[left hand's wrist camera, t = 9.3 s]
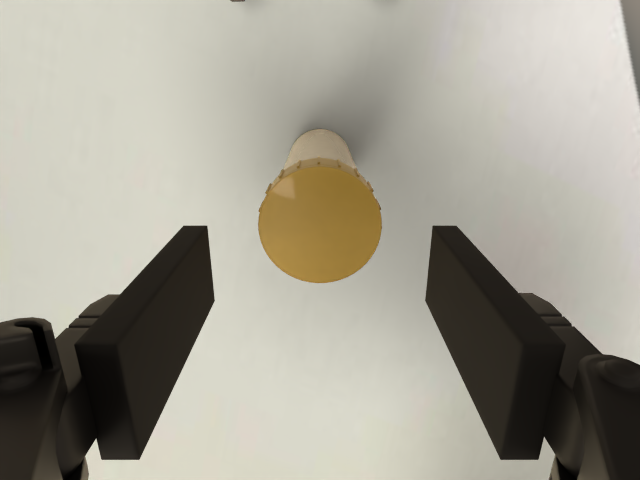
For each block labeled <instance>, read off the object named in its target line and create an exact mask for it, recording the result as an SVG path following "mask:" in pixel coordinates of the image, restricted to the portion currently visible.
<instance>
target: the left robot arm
mask: <svg viewBox="0 0 640 480" xmlns="http://www.w3.org/2000/svg"><path fill="white" fill-rule="evenodd" d="M214 301H215V300H214V290H213V279H212V269H211V259H210V249H209V239H208V229H207V226H183V227H182V228H181V229H180V230H179V231H178V232H177V234H176V235H175V236H174V237H173V238H172V239H171V240H170V241H169V242H168V243H167V244H166V245H165V247H164V248H163V249H162V250H161V251H160V252H159V253H158V254H157V255H156V256H155V257H154V258H153V260H152V261H151V262H150V263H149V264H148V265H147V266H146V267H145V268H144V269H143V270H142V271H141V273H140V274H139V275H138V276H137V277H136V278H135V279H134V280H133V281H132V282H131V283H130V284H129V286H128V287H127V288H126V289H125V290H124V291H123V292H122V293H121V294H120V295H107V296H105V297H103V298H101V299H99V300H98V301H96V302H94V303H92V304H90V305H89V306H88V307H87V308H86V309H85V310H84V311H83V312H82V313H81V314H80V315H79V318H76V319H75V320H74V321H73V322H72V323H71V324H70V325H69V328H66V329H65V330H64V331H63V332H62V333H61V334H60V335H59V336H58V337H57V338H56V339H55V337H54V333H53V329H52V326H51V323H50V322H48V321H47V320H45V319H41V318H34V317H31V318H19V319H14V320H9V321H5V322H1V323H0V480H88V476H89V473H88V466H87V462H86V458H85V455H86V454H87V452H88V450H89V449H90V447H91V446H92V444H93V442H94V441H95V439H96V438H97V442H98V447H99V451H100V455H101V459H102V460H139V459H140V457H141V455H142V453H143V451H144V449H145V447H146V444H147V442H148V440H149V438H150V436H151V434H152V432H153V430H154V428H155V425H156V423H157V421H158V419H159V417H160V415H161V413H162V411H163V409H164V406H165V404H166V402H167V400H168V398H169V396H170V394H171V392H172V390H173V387H174V385H175V383H176V381H177V379H178V377H179V375H180V373H181V371H182V368H183V366H184V364H185V362H186V360H187V358H188V356H189V354H190V352H191V349H192V347H193V345H194V343H195V341H196V339H197V337H198V335H199V333H200V330H201V328H202V326H203V324H204V322H205V320H206V318H207V316H208V314H209V311H210V309H211V307H212V305H213V303H214ZM425 301H426V303H427V305H428V307H429V309H430V312H431V314H432V316H433V318H434V320H435V322H436V324H437V326H438V328H439V330H440V333H441V335H442V337H443V339H444V341H445V343H446V345H447V347H448V349H449V352H450V354H451V356H452V358H453V360H454V362H455V364H456V366H457V368H458V371H459V373H460V375H461V377H462V379H463V381H464V383H465V385H466V387H467V390H468V392H469V394H470V396H471V398H472V400H473V402H474V404H475V406H476V409H477V411H478V413H479V415H480V417H481V419H482V421H483V423H484V425H485V428H486V430H487V432H488V434H489V436H490V438H491V440H492V442H493V444H494V447H495V449H496V451H497V453H498V455H499V457H500V459H501V460H538V459H539V455H540V451H541V447H542V442H543V438H544V437H545V439H546V440H547V442H548V443H549V445H550V447H551V448H552V450H553V451H554V453H555V458H554V462H553V466H552V470H551V473H550V477H549V480H640V365H639V364H636V363H634V362H632V361H630V360H627V359H623V358H620V357H616V356H613V355H603V354H602V353H601V352H600V351H599V350H598V349H597V348H596V347H594V346H593V345H592V344H591V343H590V342H589V341H588V340H587V339H586V338H585V337H584V336H583V335H582V334H581V333H580V332H579V331H578V330H577V329H576V328H575V327H572V325H571V323H570V322H569V321H568V320H567V319H566V318H565V317H562V314H561V313H560V312H559V311H558V310H557V309H556V308H555V307H554V306H553V305H552V304H550V303H549V302H547V301H545V300H544V299H542V298H540V297H538V296H536V295H534V294H533V293H518V292H517V291H516V290H515V289H514V288H513V287H512V286H511V284H510V283H509V282H508V281H507V280H506V279H505V278H504V277H503V276H502V275H501V274H500V273H499V271H498V270H497V269H496V268H495V267H494V266H493V265H492V264H491V263H490V262H489V261H488V260H487V258H486V257H485V256H484V255H483V254H482V253H481V252H480V251H479V250H478V249H477V248H476V247H475V245H474V244H473V243H472V242H471V241H470V240H469V239H468V238H467V237H466V236H465V235H464V234H463V232H462V231H461V230H460V229H459V228H458V227H457V226H433V229H432V239H431V249H430V259H429V269H428V279H427V290H426V300H425Z"/></svg>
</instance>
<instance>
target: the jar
mask: <svg viewBox="0 0 640 480" xmlns="http://www.w3.org/2000/svg"><path fill="white" fill-rule="evenodd" d="M318 156H320V158H327V159H333V160H337V159H340V162H342V163H345V164H347V165H349V166H350V167H352V168H353V169H354V168H356V166H355V163H354V161H353V158H352V156H351V154H350V151H349V149H348V146H347V144H346V143H345V141H344V140H343V139H342V138H341V137H340V136H339V135H337V134H336V133H334V132H332V131H329V130H325V129H315V130H311V131H308V132H306V133H304V134H303V135H301V136H300V137H299V138H298V139H297V140H296V141H295V143H294V144H293V146H292V148H291V151H290V153H289V156H288V158H287V161H286V163H285V166H284V168H283V169H284V170H285V169H287V168H288V167H290V166H291V165H293V164H295V163H298V160H301V161H303V160H307V159H313V158H318ZM356 169H357V168H356Z"/></svg>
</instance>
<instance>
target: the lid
mask: <svg viewBox="0 0 640 480" xmlns="http://www.w3.org/2000/svg"><path fill="white" fill-rule="evenodd" d="M266 194H267V195H266V197H265V199H264V201H263V202H262V204H261V206H260V209H259V212H260V214H259V223H258V227H259V229H258V230H259V235H260V240H261V243H262V245H263V248H264V250H265V252H266V254H267V255H268V256H269V258H270V259H271V261H272V262H273V263H274V264H275V265H276V266H277V267H278V268H280V269H281V270H282V271H283V272H285V273H287V274H288V275H290V276H292V277H294V278H297V279H299V280H302V281H307V282H313V283H327V282H334V281H337V280H341V279H343V278H346V277H348V276H350V275H352V274H354V273H355V272H356V271H358V270H359V269H361V268H362V267H363V266H364V265H365V264H366V263H367V262H368V260H369V259H370V258H371V257H372V255H373V253H374V252H375V250H376V248H377V246H378V243H379V240H380V235H381V229H382V221H381V214H380V210H381V207H380V205H379V203H378V201H377V199H375V197H374V195H373V189H372V187H371V185H370V183H369V182H366V180H365V179H364V178H363V177H362V176H361V175H360V174H359V173H358V170H357V169H356V168H354V169H353V168H352V167H350V166H349V165H347V164H345V163H342V162H340V159H337V160H333V159H327V158H320V156H318V158H313V159H307V160H303V161H301V160H298V163H295V164H293V165H291V166H290V167H288V168H287V169H285V170H284V169H282V170H281V172H280V175H279V176H278V177H277V178H276V179H275V180H274V182H273V183H272V184H271V183H270V184H269V186H268V188H267V191H266Z"/></svg>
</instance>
